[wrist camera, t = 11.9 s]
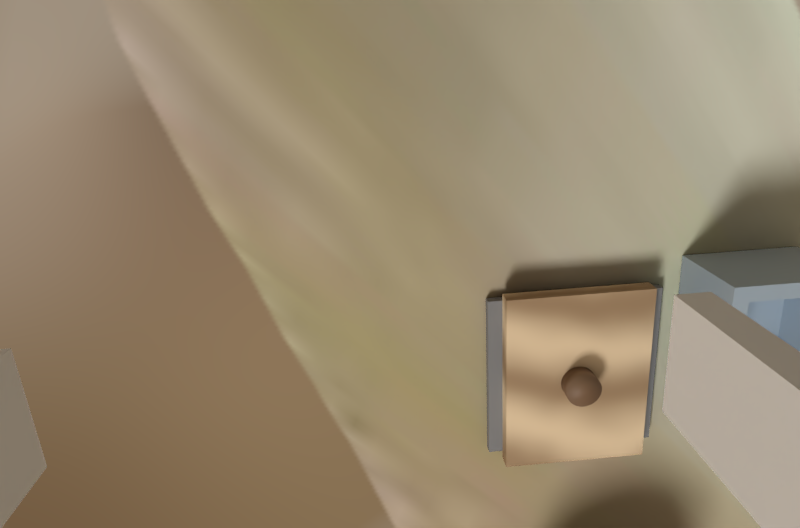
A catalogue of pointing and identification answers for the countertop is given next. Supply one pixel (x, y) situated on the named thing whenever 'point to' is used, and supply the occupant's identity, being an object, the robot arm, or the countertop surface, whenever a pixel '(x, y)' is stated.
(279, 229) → the countertop surface
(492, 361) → the mat
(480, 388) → the countertop surface
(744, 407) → the robot arm
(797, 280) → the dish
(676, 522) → the countertop surface
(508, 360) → the lid
